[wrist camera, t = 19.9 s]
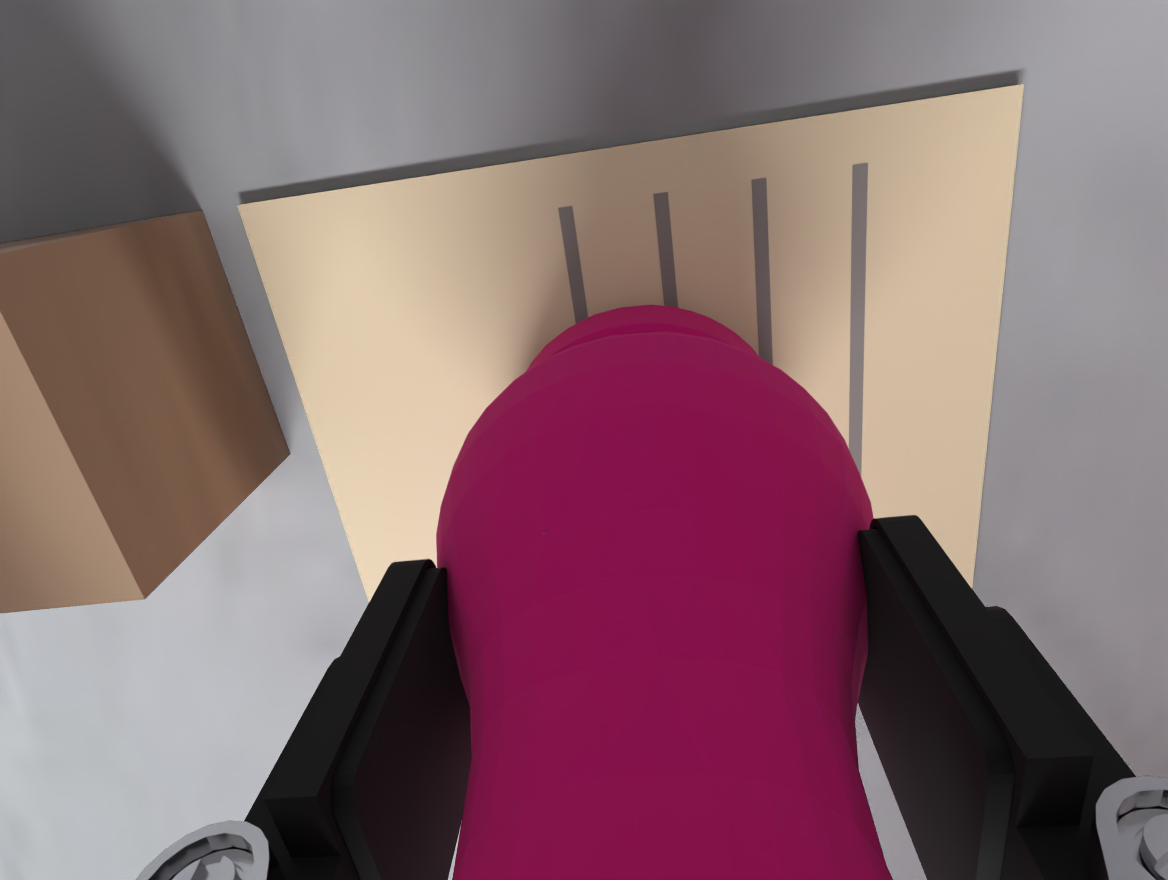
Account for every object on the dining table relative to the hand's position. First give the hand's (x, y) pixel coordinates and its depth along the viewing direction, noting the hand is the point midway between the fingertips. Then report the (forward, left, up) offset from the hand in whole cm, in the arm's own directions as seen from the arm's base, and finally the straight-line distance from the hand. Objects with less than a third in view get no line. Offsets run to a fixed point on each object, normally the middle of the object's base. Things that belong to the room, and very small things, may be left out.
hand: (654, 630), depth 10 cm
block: (+12, -3, -8) cm, 15 cm away
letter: (0, 0, -8) cm, 8 cm away
